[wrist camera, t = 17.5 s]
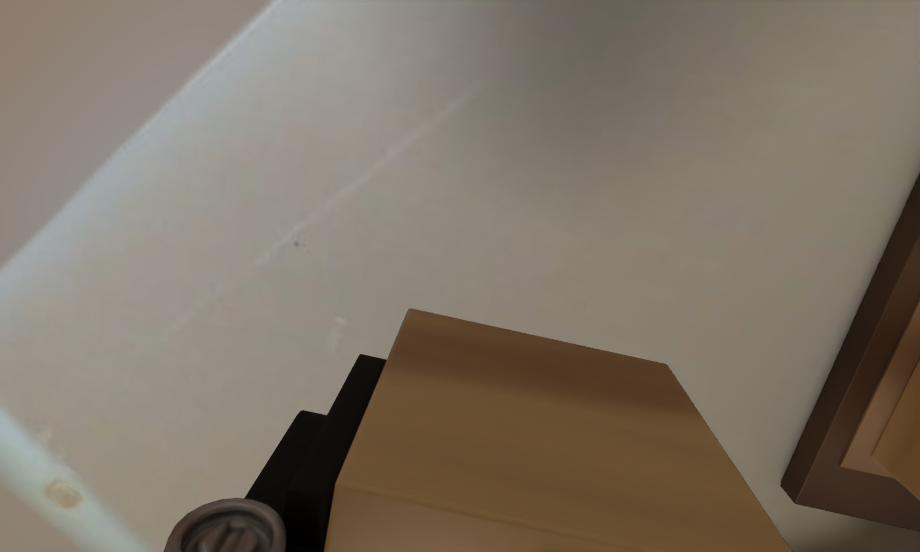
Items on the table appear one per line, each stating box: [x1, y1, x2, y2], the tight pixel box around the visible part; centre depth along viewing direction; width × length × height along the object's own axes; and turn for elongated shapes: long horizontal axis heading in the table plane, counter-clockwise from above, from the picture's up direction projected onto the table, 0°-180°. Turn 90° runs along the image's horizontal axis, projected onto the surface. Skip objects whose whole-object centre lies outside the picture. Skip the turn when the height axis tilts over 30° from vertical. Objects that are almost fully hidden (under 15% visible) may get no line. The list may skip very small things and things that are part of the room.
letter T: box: [324, 309, 792, 552], centre depth 9 cm, size 5×5×5 cm
